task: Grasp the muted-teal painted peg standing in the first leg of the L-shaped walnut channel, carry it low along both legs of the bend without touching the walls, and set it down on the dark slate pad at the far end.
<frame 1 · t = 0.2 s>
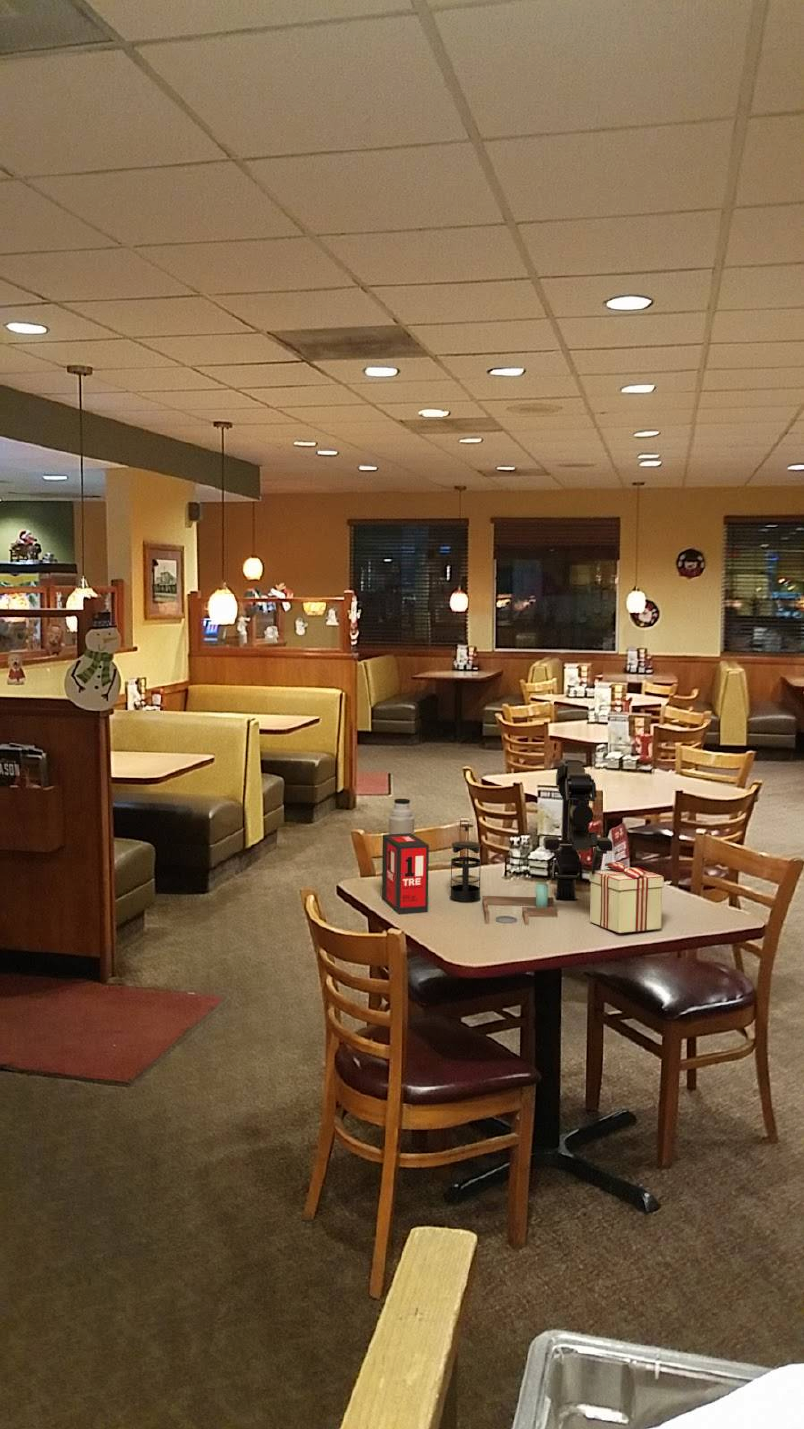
hand: (576, 873, 309), 15 cm above the table, fingers open, 8 cm apart
peg: (541, 911, 323), on the table
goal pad: (506, 920, 314), on the table
channel: (503, 910, 324), on the table
gift box: (627, 925, 310), on the table, touching gripper
thermos bottle: (400, 887, 348), on the table
cleaning product box: (404, 906, 327), on the table
french press: (465, 898, 336), on the table
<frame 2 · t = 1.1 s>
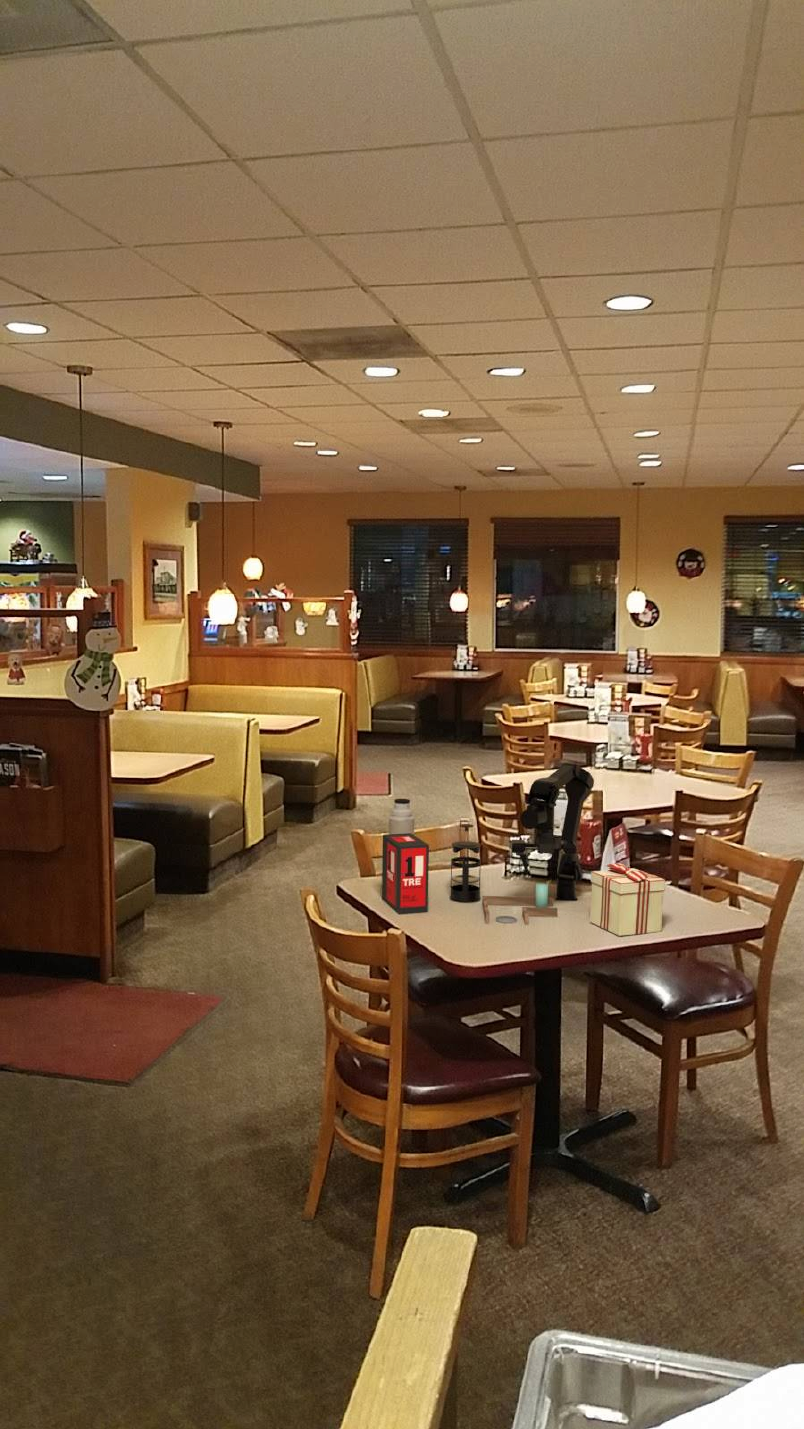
hand: (542, 875, 322), 11 cm above the table, fingers open, 9 cm apart
gift box: (627, 926, 310), on the table
everything else where it was.
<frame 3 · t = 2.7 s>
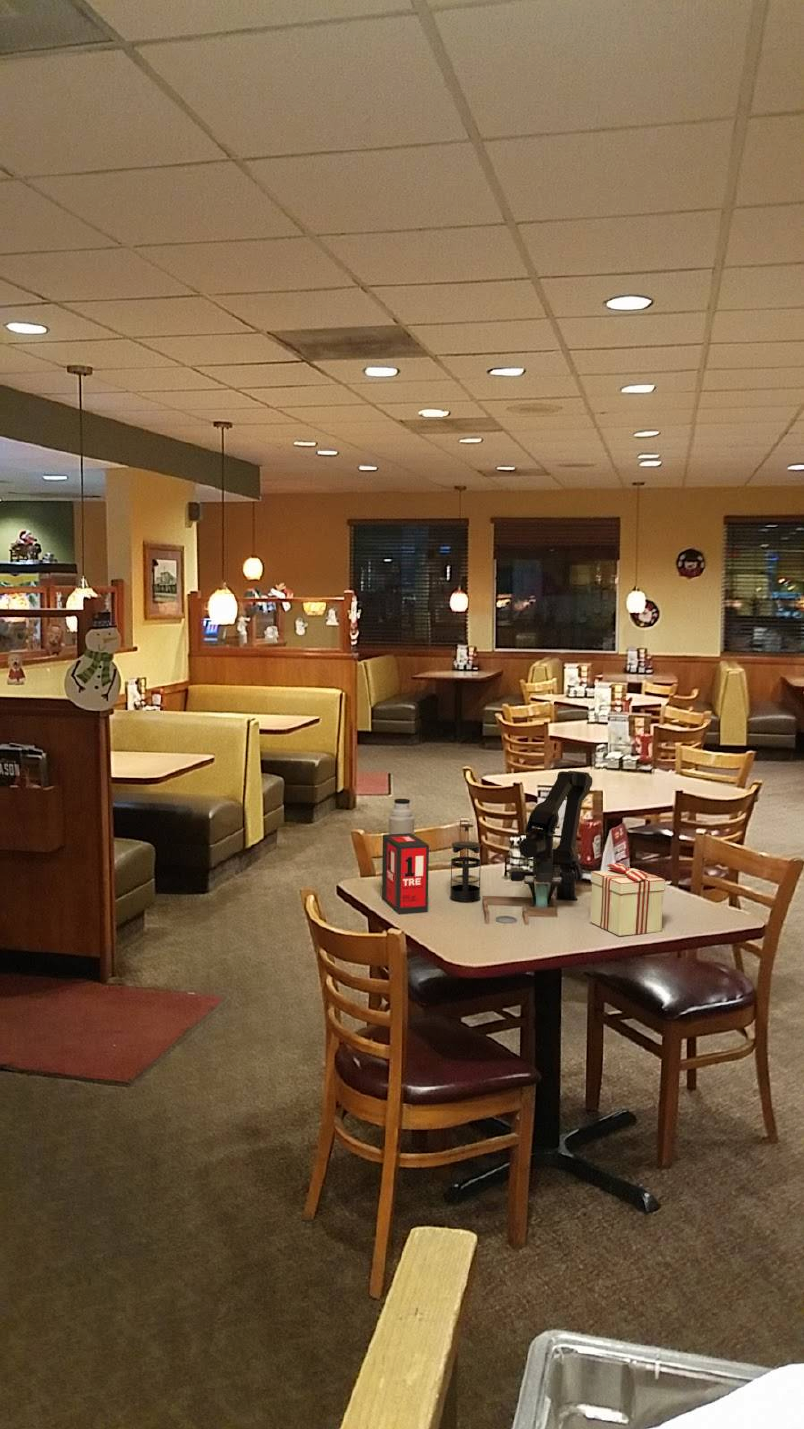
hand: (541, 903, 323), 2 cm above the table, fingers closed on peg, 3 cm apart
peg: (541, 910, 323), on the table, touching gripper
everything else where it was.
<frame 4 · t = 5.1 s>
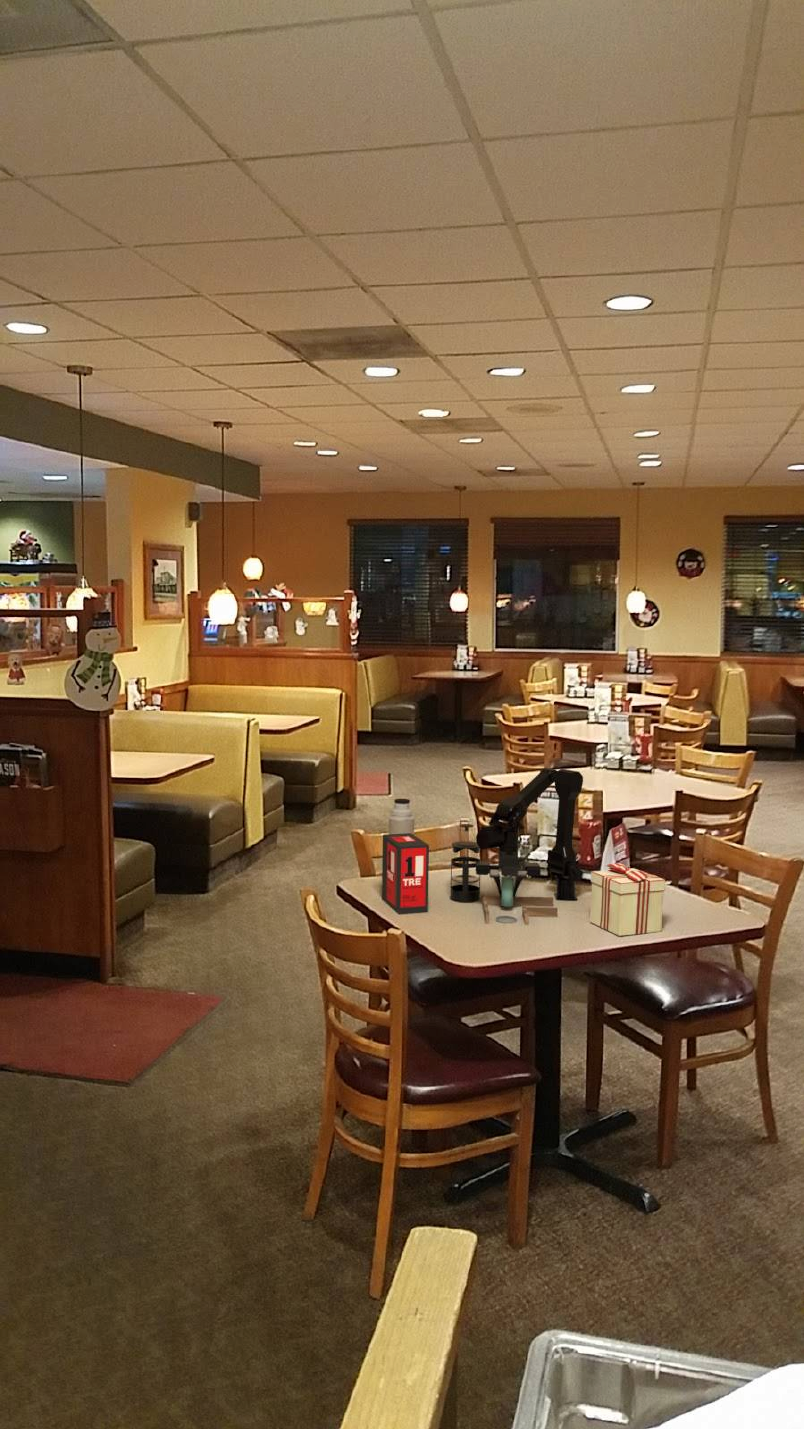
hand: (507, 897, 323), 4 cm above the table, fingers closed on peg, 3 cm apart
peg: (506, 904, 323), point 2 cm above the table, touching gripper
everything else where it was.
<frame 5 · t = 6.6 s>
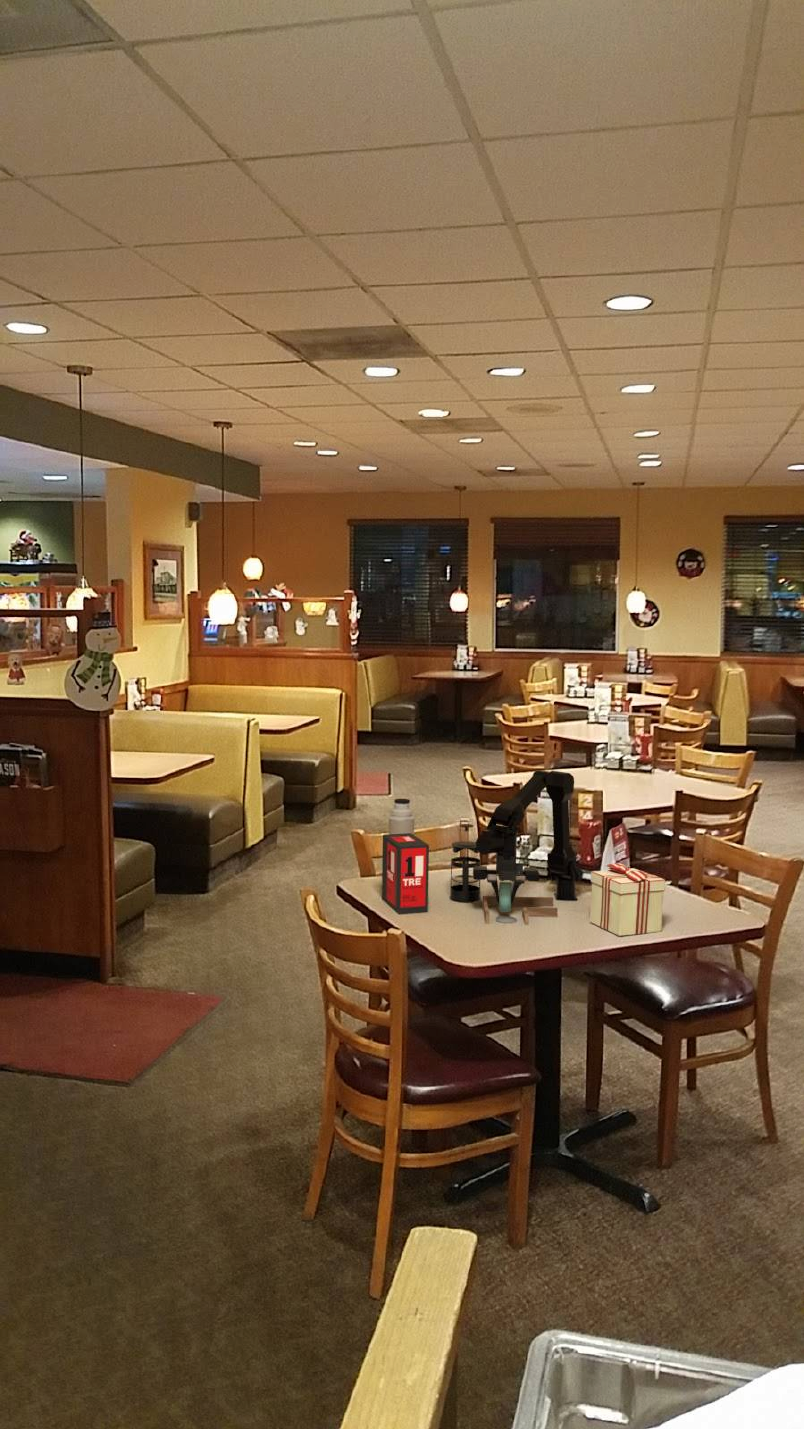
hand: (504, 902, 317), 4 cm above the table, fingers closed on peg, 3 cm apart
peg: (504, 910, 318), point 2 cm above the table, touching gripper
everything else where it was.
when the fingers open (4 cm above the table, at t = 7.6 s): peg drops 1 cm, resting on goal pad.
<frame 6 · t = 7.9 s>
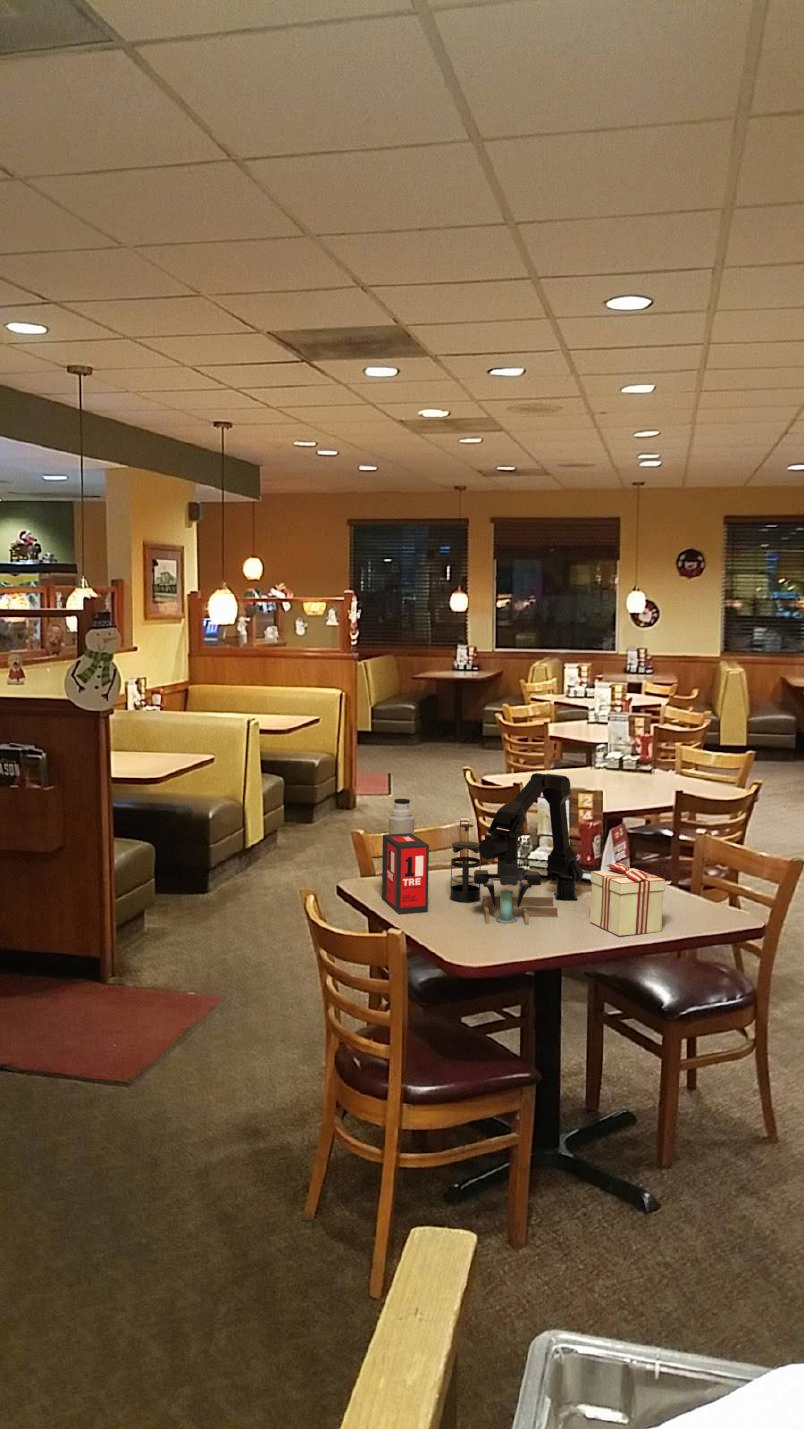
hand: (506, 907, 313), 4 cm above the table, fingers open, 6 cm apart
peg: (506, 918, 314), resting on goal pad
everything else where it was.
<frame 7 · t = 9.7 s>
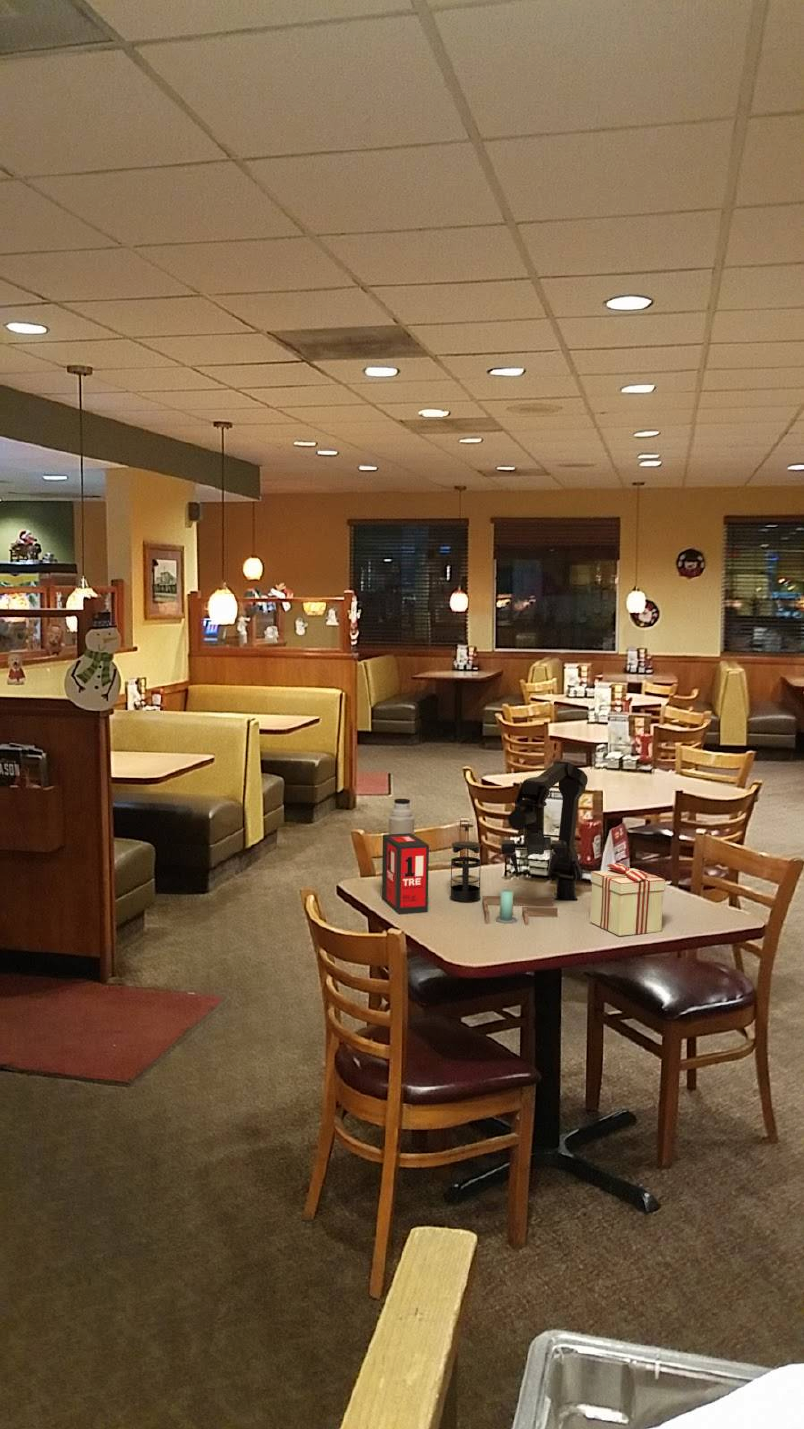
hand: (533, 875, 319), 11 cm above the table, fingers open, 9 cm apart
nothing on the table moved.
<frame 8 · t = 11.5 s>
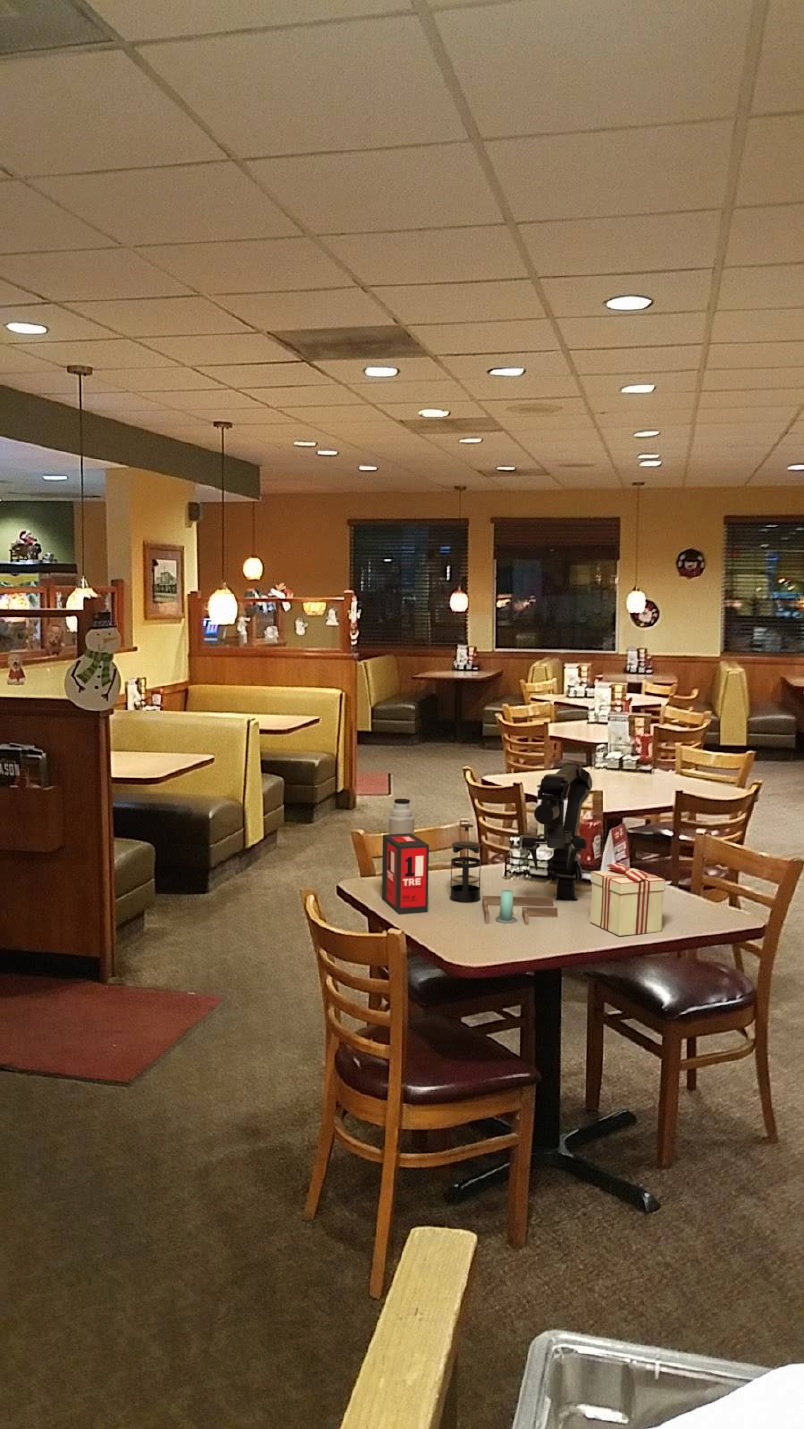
hand: (552, 870, 323), 12 cm above the table, fingers open, 9 cm apart
nothing on the table moved.
at the end: peg 0.0 cm from the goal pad (horizontally); peg tilted 0°; peg touching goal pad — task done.
